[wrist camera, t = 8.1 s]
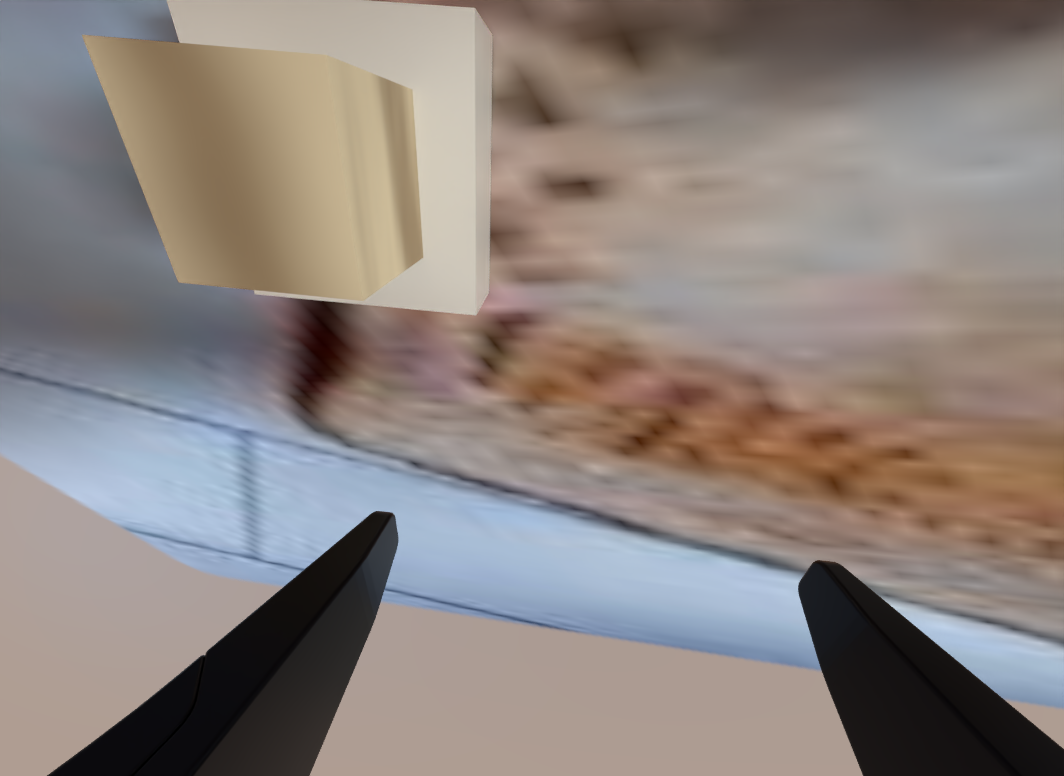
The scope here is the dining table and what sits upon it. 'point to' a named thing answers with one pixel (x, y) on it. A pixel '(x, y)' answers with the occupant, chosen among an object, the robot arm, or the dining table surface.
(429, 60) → the ceramic trivet
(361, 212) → the maple cube
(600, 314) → the dining table surface
